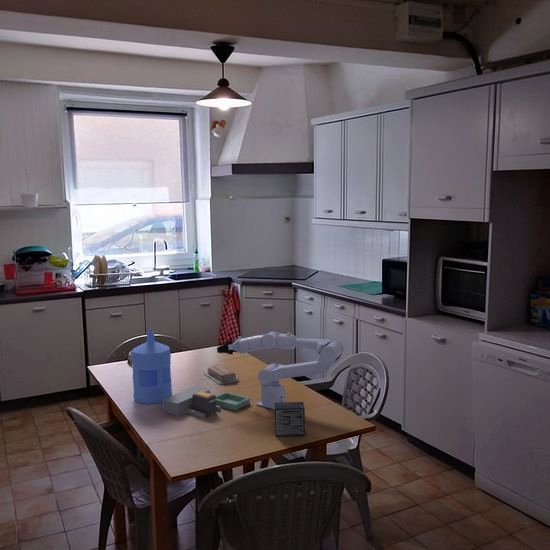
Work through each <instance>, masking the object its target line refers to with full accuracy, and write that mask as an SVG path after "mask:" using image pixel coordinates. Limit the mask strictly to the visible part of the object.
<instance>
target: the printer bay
mask: <svg viewBox="0 0 550 550" xmlns="http://www.w3.org/2000/svg"><path fill="white" fill-rule="evenodd" d="M200 391H202V392H206V393H209V394H211V393H210V389H206V388H203V387H199V386H193V387H190V388H187V389H185V390H182V391H179V392H177V393H175V394H172V396H170V397H167V398H164V399H163V402H162V412H163V411H164V412H163V413H166V412H167V413H166V414H169V413H170V415H172V414H173V416H176V417H178V416H181V415H183V414H189V415H191V416H194V417H198V418H202V419H205V418H206V415H205V413H202V412H199V411H195V410H193V396H192V394H195V393H197V392H200ZM221 410H222V407H221V406H217V405H216V412H217V411H218V412H220V411H221Z"/></svg>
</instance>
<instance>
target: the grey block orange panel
mask: <svg viewBox="0 0 550 550" xmlns="http://www.w3.org/2000/svg"><path fill="white" fill-rule="evenodd" d="M192 396H193V410H195V411H199V412H202V413H205V416H207V417H209V416H212V415H214V414H216V413H217V410H216V396H217V395H216V394H213V393H210V394H209V393H206V392H202V391H200V392H197V393H195V394H192Z"/></svg>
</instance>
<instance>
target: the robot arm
mask: <svg viewBox="0 0 550 550" xmlns="http://www.w3.org/2000/svg"><path fill="white" fill-rule="evenodd" d="M296 347H297V348H302V349H309V350H313V351H314V352H315V353H316V354H317V356H319V357H318V360H312V361H307V362H299V363H292V364H286V365H285V364H278V363H273V362H272V363H270V364H268V366H266V367H264V368H263V369H261V370H260V371H259V372H258V373H257V379H258V381H259V382H260V401H259V402H256V405H257V406H259V407H260V406H261V407H264V408H266V409H267V408H268V409H271V410H274V403H276V402H286V387H285V386H284V385H282V384H281V383H280V381H281V380H283V379H290V378H297V377H306V376H313V375H320V374H325V373H327V372H328V371H329V370H330V369H331V368H332V367H333V366H334V365H335V364H336V363H337V362H338V361H339V360H340V359H341V357H342V355H343V353H344V345H343V344H342V342H340V341H339V340H332V339H328V338H327V339H325V338H305V337H304V338H302V337H301V338H299V337H296V335H295V334H292V333H291V332H286V333H280V331H279V332H278V331H276V332H275V331H269V332H268V333H267V334H266V333H265V334H259V335H252V336H248V337H245V338H244V337H243V338H242V336H241V335H240V336H237V339H236V341H234V342H233V341H232V340H231V339H230V340H227V341H226V342H225V343H223V344H222V345H219V346H218V347H217V348H216V352H217V353H218V354H227V355H234V353H238V354H241V355H244V354H246V353H250V352H255V351H260V350H264V349H267V350H273V349H274V348H275V349H283V350H284V349H285V350H294V349H295V348H296Z"/></svg>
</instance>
